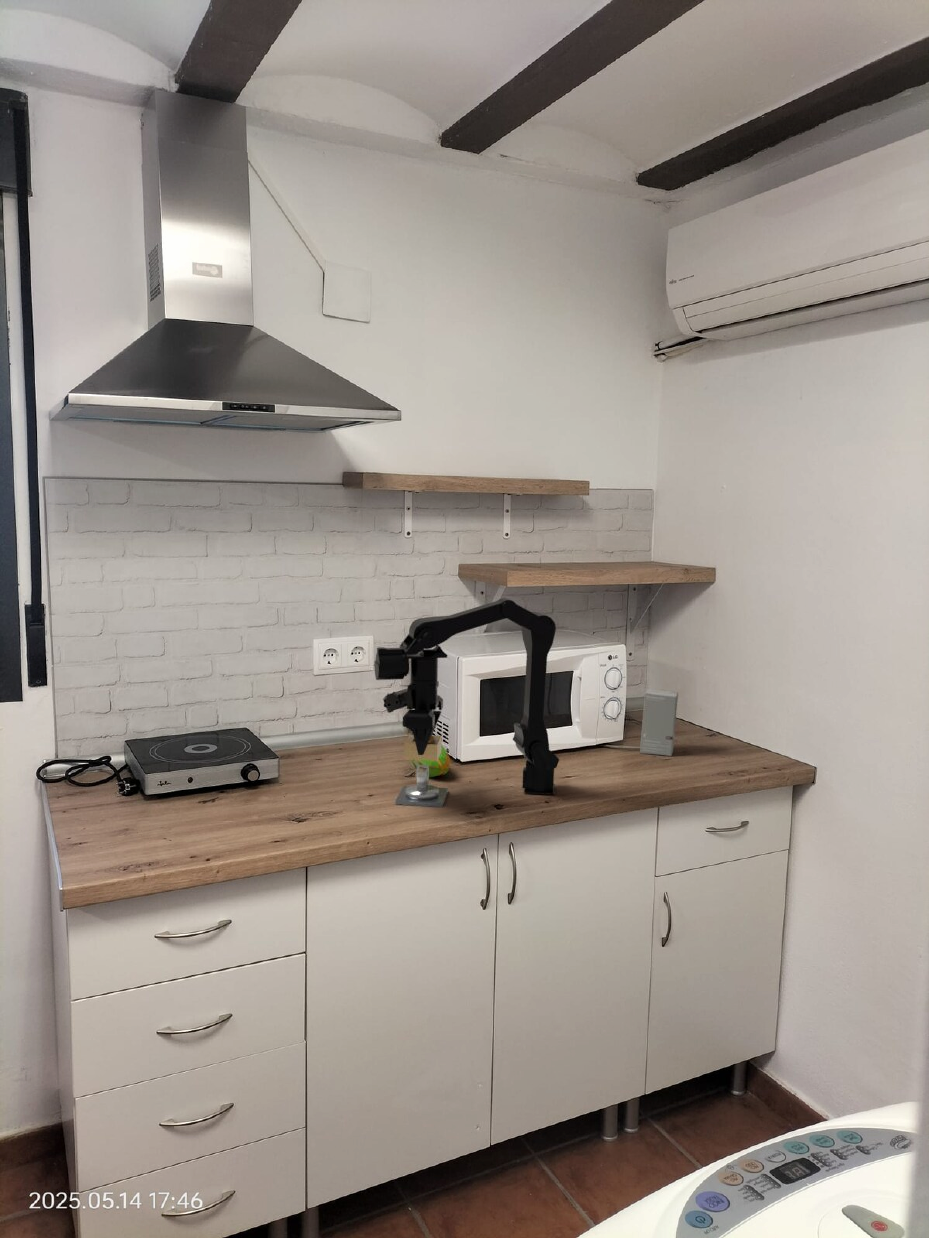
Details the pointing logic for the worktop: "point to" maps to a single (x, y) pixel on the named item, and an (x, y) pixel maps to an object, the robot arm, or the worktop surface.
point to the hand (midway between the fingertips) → (423, 749)
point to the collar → (430, 752)
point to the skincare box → (658, 722)
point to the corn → (437, 764)
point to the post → (422, 791)
